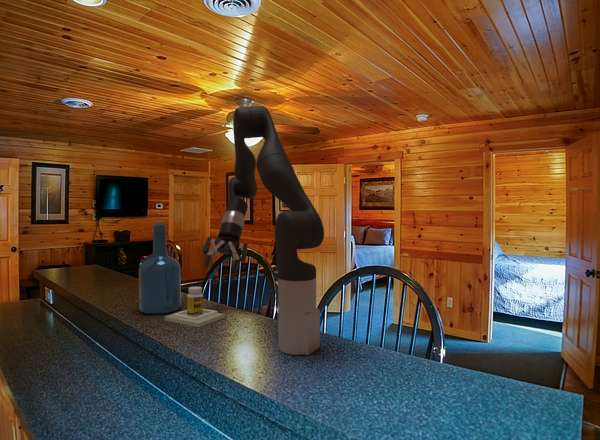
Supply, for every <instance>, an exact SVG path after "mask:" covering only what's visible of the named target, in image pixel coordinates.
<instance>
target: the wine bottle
mask: <svg viewBox="0 0 600 440" xmlns="http://www.w3.org/2000/svg"><path fill="white" fill-rule="evenodd" d="M166 227H167V226H166V224H165V221H164V220H155V221H154V224H153V228H152V237H153V238H152V239H153V241H152V254H150V255H148V256H147V257H145V258H144V259H143V260H141V262H140V263H139V265H138V266H139V267H138V294H139V295H138V296H139V297H138V301H139V302H138V303H139V304H138V305H139V306H138V307H139V311H140V312H141V313H143V314H147V315H164V314H169V313H174V312H176V311H178V310H180V308H181V306H182V299H181V295H182V294H181V293H182V291H181V290H182V289H181V288H182V286H181V285H182V284H181V278H182V277H181V264H180V262H179V261H178V260H177V259H175V258H174V257H171V256H170V255H169V254H168V253H167V251H168V249H167V247H168V246H167V229H166Z"/></svg>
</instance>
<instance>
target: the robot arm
mask: <svg viewBox="0 0 600 440" xmlns="http://www.w3.org/2000/svg"><path fill="white" fill-rule="evenodd" d="M232 119H233V120H232V127H233V129H232V130H233V140H234V141H233V143H234V154H235V162H234V176H233V177H231V178H230V179H229V180H228V184H227V187H228V188H227V190H228V191H227V193H228V200H227V206H226V208H225V209H226V210H225V212H224V215H223V217H222V221H221V224H220V227H219V231H218V235H217V238H216V239H214V238H211V236H208V237H207V238H206V241H205V243H204V245H203V248H202V250H201V252H202V254H203V256H205V257H206V258H205V261H204V265H205V267H206V269H210V266H211V264H212V259H213V257H215V256H216V255H218V254H219V253H220V254H222V255H223V254H224V255H227V256H230V255H232V257H233V258H234V260H233V263H232V269H231V272H232V273H233V274H234V273H235V272H237V271H238V269H239V265H240V263H245V262H246V260H247V254H248V248H249V247H248V243H247V242H244V243H240V242H241V237H242V234H243V230H244V228H245V227H244V226H245V218H246V215H247V211H248V206H249V205H248V203H247V202H246V200H244V199H247V200H251V199H254V198H255V197H256V195H257V193H258V183H257V179H256V175H255V172H256V170H257V173H258V176H259V178H260V180H261V183H262V185H263V186H264V188H265V189H266V191H268V192H269V193H270V194H271V195H273V197H275V198H276V199H277V200H279V201H280V202H281V203H283V204H284V205H285V206H286V207H287V208H288V209H289V210H286V211H282V212H280V213H278V215H277V217H276V220H275V224H274V240H275V241H274V243H275V244H274V245H275V256H276V257H275V258H276V259H275V262H276V269H277V305H278V308H277V310H278V311H277V312H278V314H277V316H278V318H277V319H278V320H277V323H278V324H277V327H278V328H277V329H278V331H277V332H278V333H277V335H278V336H277V337H278V339H277V340H278V343H277V344H278V350H279V351H280V352H281V353H284V354H286V355H294V356H299V355H303V356H310V355H311V354H313V353H314V352H315V351H317V350H318V349H320V348H321V345H320V344H321V339H320V338H321V336H320V331H321V325H320V324H321V323H320V322H321V314H320V313H321V310H320V308H318V307H317V268H316V265H314V264H312V263H309V262H305V261H303V260H301V259H300V258H299V256H298V250H311V249H315V248H319V247H320V246H321V245H322V243H323V242H324V238H325V229H324V225H323V221H322V219H321V216H320V215H319V213H318V211H317V209H316V208H315V206H314V205H313V203H312V202H311V200H310V198H309V196H308V195H307V194H306V192H305V189H304V188H303V187H302V184H301V182H300V180H299V178H298V176H297V174H296V172H295V170H294V167H293V165H292V162H291V160H290V158H289V157H288V155H287V153H286V151H285V148H284V147H283V144H282V142H281V140H280V137H279V135H278V132H277V129H276V126H275V122H274V121H273V117H272V114H271V112H270V111H269V109H268V108H267V107H266V106H265V105H264V106H261V105H252V106H240V107H237V108H236V109H235V110H234V112H233V117H232ZM253 138H255V139H256V138H262V139H264V142H263V145H262V147H261V148H260V150H259V152H258V155H257V158H256V156H255V154H254V153H253V151H252V150H251V149H250V147H248V145H247V144H246V141H245V139H253ZM243 198H244V199H243ZM213 245H215V246H213ZM211 246H213V247H212V248H211ZM210 249H211V250H210ZM238 249H240V250H241V251H242V252H241V256H239V254H238V252H237V250H238Z"/></svg>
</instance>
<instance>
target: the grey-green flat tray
mask: <svg viewBox="0 0 600 440" xmlns="http://www.w3.org/2000/svg"><path fill="white" fill-rule="evenodd" d="M223 319H225V313H220V312H218V310H213V309H207V308H203V315H201V316H197V317H191V316H188V315H187V309H185V310H182V311H177V312H175V313H172V314H169V315H166V316H164V321H166V322H171V323H174V324H175V323H176V324H181V325H185V326H191V327H195V328H201V327H204V326H206V325H210V324H211V323H214V322H217V321H220V320H223Z"/></svg>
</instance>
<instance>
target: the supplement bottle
mask: <svg viewBox="0 0 600 440" xmlns="http://www.w3.org/2000/svg"><path fill="white" fill-rule="evenodd" d="M202 292H203V287H201V286H191V287H190V286H189V287H188V294H187V296H186V310H187V315H188V316H191V317H197V316H201V315H203V309H204V295H203V293H202Z"/></svg>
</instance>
